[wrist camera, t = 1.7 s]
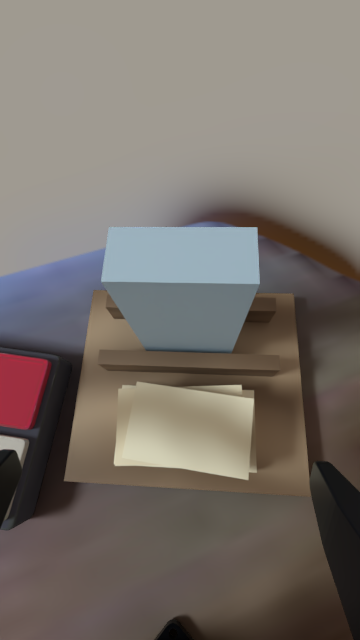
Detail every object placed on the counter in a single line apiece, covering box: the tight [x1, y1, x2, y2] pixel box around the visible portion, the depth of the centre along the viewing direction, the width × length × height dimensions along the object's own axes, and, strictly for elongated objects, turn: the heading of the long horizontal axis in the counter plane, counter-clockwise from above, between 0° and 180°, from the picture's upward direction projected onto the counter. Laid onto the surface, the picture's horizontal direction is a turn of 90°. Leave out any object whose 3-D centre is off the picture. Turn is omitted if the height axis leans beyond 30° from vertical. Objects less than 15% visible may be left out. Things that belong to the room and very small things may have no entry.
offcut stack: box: [114, 382, 257, 480], centre depth 20 cm, size 5×9×3 cm, turn 87°
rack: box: [64, 290, 311, 497], centre depth 22 cm, size 14×16×4 cm
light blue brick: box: [101, 227, 260, 354], centre depth 18 cm, size 2×6×12 cm, turn 88°
